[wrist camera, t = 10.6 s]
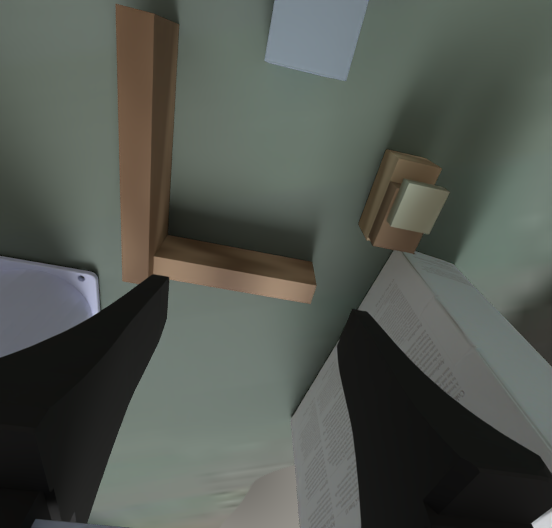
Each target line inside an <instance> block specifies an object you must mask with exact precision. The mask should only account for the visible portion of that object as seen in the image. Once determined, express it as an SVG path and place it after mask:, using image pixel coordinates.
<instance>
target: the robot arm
mask: <svg viewBox="0 0 552 528" xmlns="http://www.w3.org/2000/svg"><path fill="white" fill-rule="evenodd" d="M81 276H83V277H85V279H84V278H82V277H81ZM168 291H169V277H167V276H162V275H156V274H152V275H151V276H149V277H148V278H146V279H145V280H144V281H142V282H141V283H140V284H139V285H137V286H136V287H135V288H133V289H132V290H131V291H129V292H128V293H127V294H125V295H124V296H122V297H121V298H119V299H118V300H117V301H115V302H114V303H112V304H111V305H109V306H108V307H106V308H105V309H103V310H101V311H100V300H99V286H98V277H97V275H96V274H95V273H93V272H91V271H85V270H79V269H74V268H68V267H62V266H56V265H50V264H45V263H39V262H33V261H27V260H21V259H16V258H10V257H4V256H0V528H128V527H117V526H106V525H96V524H87V522H88V519H89V516H90V513H91V510H92V506H93V503H94V500H95V497H96V494H97V491H98V488H99V485H100V482H101V480H102V477H103V474H104V471H105V468H106V465H107V462H108V459H109V456H110V454H111V451H112V448H113V445H114V442H115V440H116V437H117V434H118V431H119V429H120V426H121V423H122V421H123V418H124V415H125V413H126V410H127V407H128V405H129V402H130V400H131V398H132V396H133V393H134V391H135V389H136V387H137V385H138V383H139V381H140V379H141V377H142V375H143V373H144V371H145V369H146V367H147V365H148V363H149V361H150V359H151V357H152V355H153V353H154V351H155V349H156V347H157V344H158V342H159V340H160V337H161V334H162V331H163V328H164V325H165V322H166V319H167V308H168ZM337 356H338V367H339V373H340V378H341V382H342V387H343V391H344V396H345V400H346V404H347V409H348V413H349V418H350V422H351V427H352V433H353V441H354V449H355V457H356V467H357V477H358V488H359V502H360V516H361V528H534V527H533V526H532V524H531V523H532V522H534V521H535V520H536V519H538V518H539V517H540V516H542V515H543V514H544V513H546V512H547V511H548V510H550V509H551V508H552V473H551V472H550V470H549V469H548V467H547V466H546V464H545V463H544V461H543V460H542V458H541V457H540V456H539V455H537V454H536V453H534V452H532V451H531V450H529V449H527V448H526V447H524V446H522V445H521V444H519V443H517V442H516V441H514V440H512V439H511V438H509V437H507V436H506V435H504V434H503V433H501V432H499V431H498V430H496V429H495V428H493V427H492V426H490V425H489V424H487V423H486V422H485V421H483V420H482V419H480V418H479V417H477V416H476V415H475V414H473V413H472V412H470V411H469V410H468V409H466V408H465V407H464V406H462V405H461V404H460V403H459V402H457V401H456V400H455V399H453V398H452V397H451V396H450V395H448V394H447V393H446V392H445V391H444V390H442V389H441V388H440V387H439V386H438V385H437V384H436V383H434V382H433V381H432V380H431V379H430V378H429V377H428V376H427V375H426V374H424V373H423V372H422V371H421V370H420V369H419V368H418V367H417V366H416V365H415V364H414V363H413V362H412V361H411V360H410V359H409V358H408V357H407V355H406V354H405V353H404V352H403V351H402V350H401V349H400V348H399V347H398V346H397V345H396V343H395V342H394V341H393V340H392V339H391V338H390V337H389V336H388V334H387V333H386V332H385V331H384V330H383V329H382V327H381V326H380V325H379V324H378V323H377V322H376V321H375V319H374V318H373V317H372V316H371V315H370V314H369V313H368V312H367V311H362V310H356V309H352V311H351V313H350V316H349V318H348V321H347V323H346V325H345V328H344V330H343V332H342V335H341V337H340V340H339V342H338V344H337Z"/></svg>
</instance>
